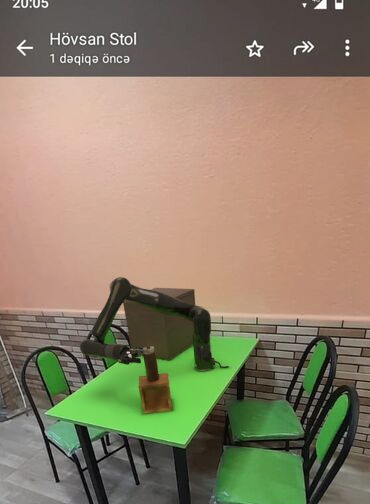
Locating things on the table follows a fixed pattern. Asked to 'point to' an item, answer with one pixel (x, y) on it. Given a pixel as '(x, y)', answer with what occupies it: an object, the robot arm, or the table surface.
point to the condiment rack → (155, 394)
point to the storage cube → (160, 326)
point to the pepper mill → (150, 364)
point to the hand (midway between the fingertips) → (146, 357)
